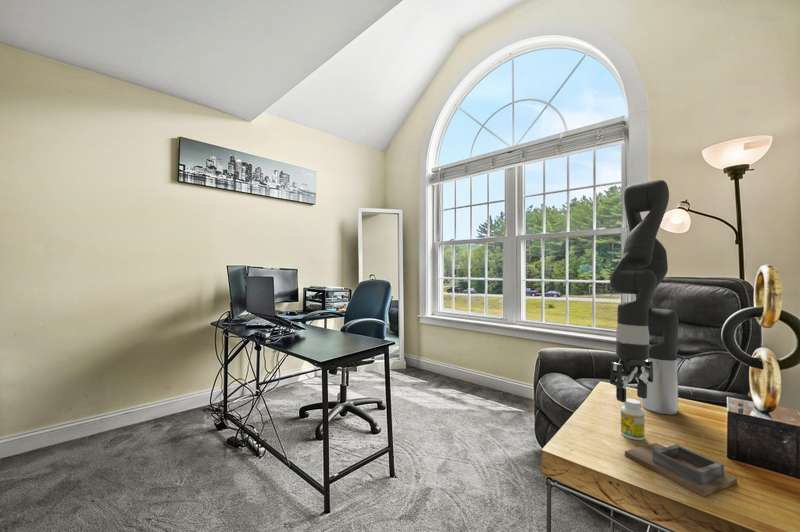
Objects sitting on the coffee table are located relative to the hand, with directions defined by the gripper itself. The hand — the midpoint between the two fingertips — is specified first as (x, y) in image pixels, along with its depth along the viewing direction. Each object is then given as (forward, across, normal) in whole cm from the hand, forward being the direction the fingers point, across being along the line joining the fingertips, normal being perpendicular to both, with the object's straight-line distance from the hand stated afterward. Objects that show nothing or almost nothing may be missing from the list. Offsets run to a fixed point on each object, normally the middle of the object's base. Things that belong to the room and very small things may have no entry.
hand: (631, 399), depth 92 cm
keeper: (+10, +6, +14) cm, 18 cm away
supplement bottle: (+10, 0, 0) cm, 10 cm away
